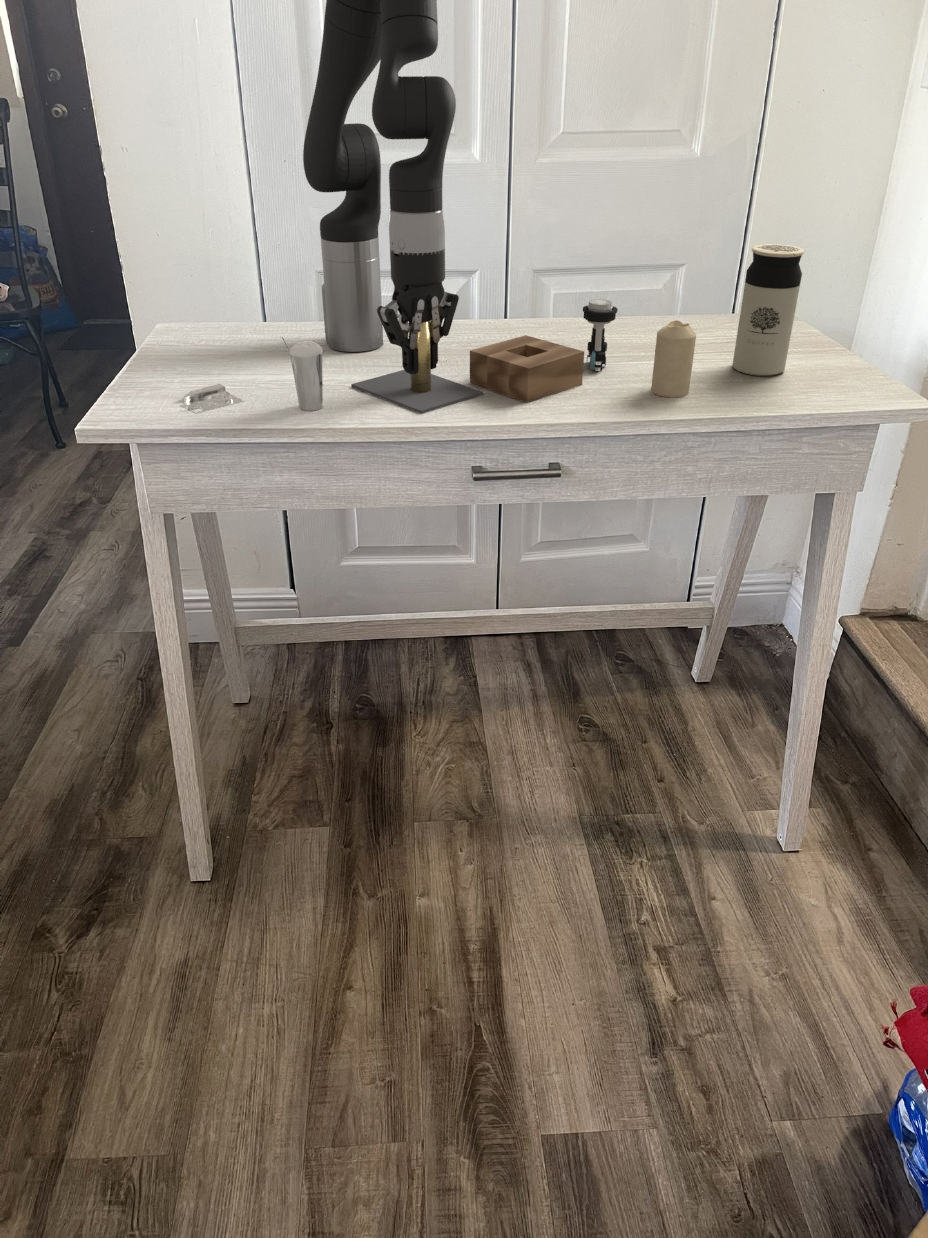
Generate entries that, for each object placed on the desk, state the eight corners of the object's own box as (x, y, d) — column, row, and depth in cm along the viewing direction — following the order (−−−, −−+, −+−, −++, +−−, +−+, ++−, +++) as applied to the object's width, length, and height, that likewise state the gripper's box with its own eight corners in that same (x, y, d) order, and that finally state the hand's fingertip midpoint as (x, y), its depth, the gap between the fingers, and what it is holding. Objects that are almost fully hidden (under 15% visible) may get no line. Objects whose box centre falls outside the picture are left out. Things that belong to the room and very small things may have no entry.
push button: (614, 374, 146) (619, 308, 141) (579, 373, 147) (584, 308, 141) (611, 361, 152) (616, 297, 147) (578, 360, 152) (582, 297, 147)
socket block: (469, 383, 143) (469, 350, 140) (524, 366, 150) (525, 335, 147) (527, 402, 135) (528, 368, 133) (582, 384, 142) (584, 351, 140)
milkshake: (290, 402, 135) (283, 332, 130) (327, 401, 136) (322, 331, 130) (287, 413, 132) (280, 341, 126) (326, 412, 132) (320, 340, 127)
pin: (406, 389, 139) (404, 320, 134) (422, 384, 141) (420, 316, 136) (420, 394, 137) (418, 324, 132) (435, 389, 139) (434, 320, 134)
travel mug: (743, 358, 153) (761, 241, 144) (791, 367, 149) (813, 247, 140) (724, 370, 148) (742, 249, 138) (773, 380, 144) (795, 256, 134)
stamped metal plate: (221, 393, 141) (220, 383, 140) (245, 405, 136) (244, 395, 136) (172, 405, 136) (170, 395, 135) (196, 417, 132) (194, 407, 131)
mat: (351, 386, 141) (351, 384, 141) (412, 369, 148) (412, 367, 148) (421, 413, 131) (421, 410, 131) (483, 394, 138) (483, 391, 138)
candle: (648, 385, 142) (655, 317, 137) (685, 385, 142) (694, 318, 136) (653, 397, 137) (661, 327, 132) (691, 397, 137) (700, 328, 132)
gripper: (437, 234, 135) (439, 355, 144) (359, 248, 127) (366, 374, 136) (473, 242, 130) (473, 366, 139) (395, 256, 122) (400, 387, 131)
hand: (420, 369), depth 137 cm, fingers closed on pin, 3 cm apart
